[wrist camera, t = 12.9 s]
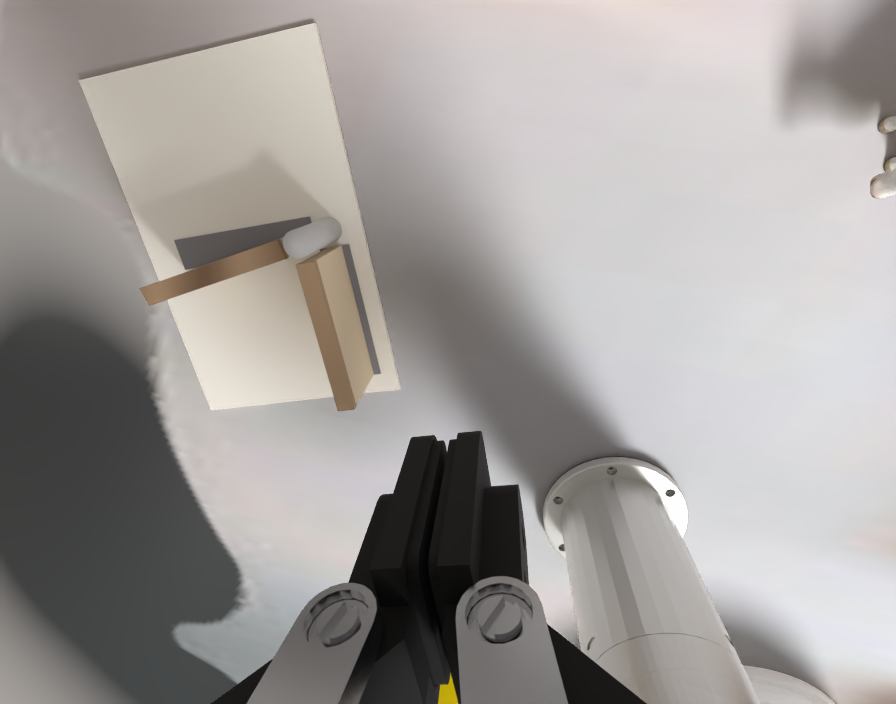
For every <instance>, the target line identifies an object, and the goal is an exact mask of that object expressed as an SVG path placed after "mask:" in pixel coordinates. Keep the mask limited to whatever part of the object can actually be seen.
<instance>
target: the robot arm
mask: <svg viewBox="0 0 896 704" xmlns="http://www.w3.org/2000/svg"><path fill="white" fill-rule="evenodd" d="M543 522H544V529H545V532H546V535H547V538H548V540H549V542H550V543H551V545H552V546H553V548H554V549H555V550H556V551H557V552H558V553H559V554H560V555H561V556H562V557H564V558H565V559H566V560H567V566H568V572H569V579H570V585H571V591H572V598H573V604H574V610H575V616H576V623H577V629H578V635H579V642H580V648H581V651H580V650H579V649H578V648H577V647H575V646H574V645H573V644H572V643H570V642H569V641H568V640H567V639H565V638H564V637H563V636H562V635H560V634H559V633H558V632H556V631H555V630H554V629H553V628H551V627H550V626H549V625H548V624H547V622H546V618H545V615H544V611H543V607H542V604H541V602H540V599H539V597H538V595H537V593H536V592H535V591H534V590H533V589H532V588H531V587H530V586H529V581H528V565H527V550H526V538H525V528H524V519H523V511H522V504H521V497H520V491H519V486H518V485H505V486H491V483H490V477H489V471H488V465H487V459H486V453H485V447H484V441H483V436H482V432H481V431H474V432H463V433H458V435H457V439H454V440H450V441H449V446H448V451H447V450H446V446H445V442H444V441H437V439H436V437H435V436H434V435H431V436H420V437H412V438H411V440H410V443H409V446H408V449H407V452H406V455H405V458H404V461H403V465H402V468H401V471H400V474H399V477H398V480H397V483H396V487H395V490H394V493H393V494H383V495H381V496H380V497H379V499H378V501H377V504H376V507H375V510H374V513H373V515H372V518H371V521H370V524H369V527H368V529H367V532H366V535H365V538H364V541H363V543H362V546H361V549H360V552H359V555H358V557H357V560H356V563H355V566H354V569H353V571H352V574H351V577H350V580H349V583H342V584H338V585H335V586H332V587H329V588H328V589H326V590H324V591H322V592H320V593H319V594H317V595H316V596H315V597H314V598H313V599H312V600H310V601H309V602H308V604H307V605H306V606H305V607H304V609H303V610H302V611H301V613H300V614H299V616H298V618H297V619H296V621H295V623H294V625H293V626H292V628H291V630H290V631H289V633H288V635H287V636H286V638H285V640H284V641H283V643H282V645H281V646H280V648H279V650H278V652H277V653H276V655H275V657H274V658H273V659H272V660H271V661H269V662H268V663H266V664H265V665H264V666H262V667H261V668H259V669H258V670H257V671H255V672H254V673H253V674H251V675H250V676H248V677H247V678H246V679H244V680H243V681H242V682H240V683H239V684H237V685H236V686H235V687H233V688H232V689H231V690H229V691H228V692H226V693H225V694H224V695H222V696H221V697H220V698H218V699H217V700H215V701H214V702H213V703H211V704H438V700H439V691H440V685H448V684H449V681H450V673H451V676H452V680H453V684H454V688H455V692H456V696H457V700H458V704H761V703H760V700H759V698H758V696H757V694H756V692H755V690H754V688H753V686H752V684H751V682H750V679H749V677H748V675H747V673H746V671H745V669H744V667H743V665H742V663H741V661H740V659H739V657H738V654H737V652H736V650H735V648H734V646H733V644H732V641H731V639H730V637H729V635H728V633H727V631H726V629H725V627H724V625H723V622H722V620H721V618H720V616H719V614H718V612H717V610H716V608H715V605H714V603H713V601H712V599H711V597H710V595H709V593H708V591H707V589H706V586H705V584H704V582H703V580H702V578H701V576H700V574H699V572H698V570H697V567H696V565H695V563H694V561H693V559H692V557H691V555H690V553H689V550H688V548H687V546H686V544H685V542H684V540H683V535H684V533H685V530H686V528H687V523H688V508H687V504H686V501H685V498H684V496H683V494H682V492H681V490H680V489H679V487H678V485H677V484H676V483H675V481H674V480H673V479H672V478H671V477H670V476H669V475H668V474H667V473H665V472H664V471H663V470H661V469H660V468H658V467H656V466H654V465H652V464H650V463H648V462H645V461H641V460H638V459H634V458H625V457H606V458H601V459H595V460H591V461H588V462H586V463H583V464H580V465H578V466H576V467H574V468H573V469H571V470H569V471H567V472H566V473H565V474H564V475H563V476H561V477H560V478H559V479H558V480H557V481H556V482H555V484H554V485H553V486H552V487H551V489H550V491H549V492H548V494H547V496H546V498H545V502H544V507H543Z"/></svg>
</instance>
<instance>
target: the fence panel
mask: <svg viewBox="0 0 896 704" xmlns="http://www.w3.org/2000/svg"><path fill="white" fill-rule="evenodd" d="M283 238H284V237H283ZM283 238H280V239H277V240H275V241H272V242H269V243H266V244H263V245H261V246H258V247H255V248H252V249H249V250H246V251H244V252H241V253H238V254H235V255H232V256H229V257H227V258H224V259H221V260H218V261H215V262H212V263H210V264H207V265H204V266H201V267H198V268H195V269H193V270H190V271H187V272H184V273H182V274H179V275H176V276H173V277H171V278H168V279H165V280H162V281H159V282H156V283H154V284H151V285H148V286H145V287H142V288H140V290H141V292H142V294H143V295H144V297H145V299H146V301H147V302H148V304H149V306H150V305H153V304H156V303H159V302H162V301H165V300H168V299H171V298H174V297H177V296H179V295H182V294H185V293H188V292H191V291H194V290H197V289H200V288H203V287H206V286H209V285H212V284H215V283H217V282H220V281H223V280H226V279H229V278H232V277H235V276H238V275H241V274H244V273H247V272H250V271H253V270H255V269H258V268H261V267H264V266H267V265H270V264H273V263H276V262H279V261H282V260H285V259H287V258H289V255H288V254H287V253H286V251H285V249H284V247H283Z"/></svg>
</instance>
